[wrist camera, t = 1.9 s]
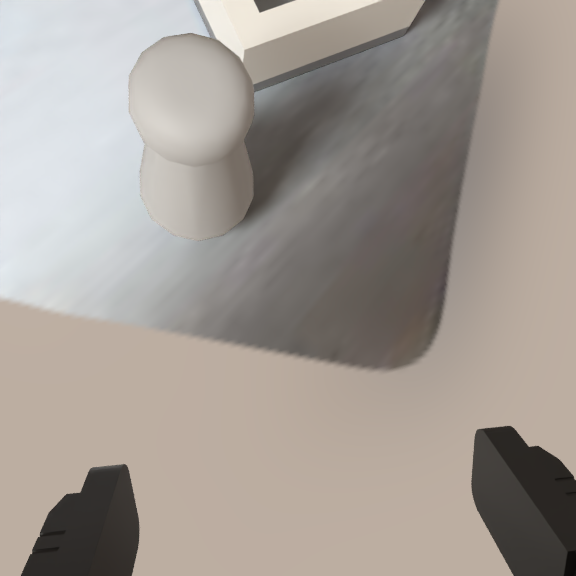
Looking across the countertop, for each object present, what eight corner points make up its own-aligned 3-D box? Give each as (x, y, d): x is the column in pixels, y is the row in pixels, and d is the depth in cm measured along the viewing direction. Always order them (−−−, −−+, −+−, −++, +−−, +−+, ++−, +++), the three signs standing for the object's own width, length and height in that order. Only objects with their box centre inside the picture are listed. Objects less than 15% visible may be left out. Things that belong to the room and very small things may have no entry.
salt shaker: (158, 259, 30) (118, 186, 17) (134, 159, 30) (77, 14, 17) (262, 235, 31) (299, 149, 18) (237, 138, 31) (256, -13, 18)
